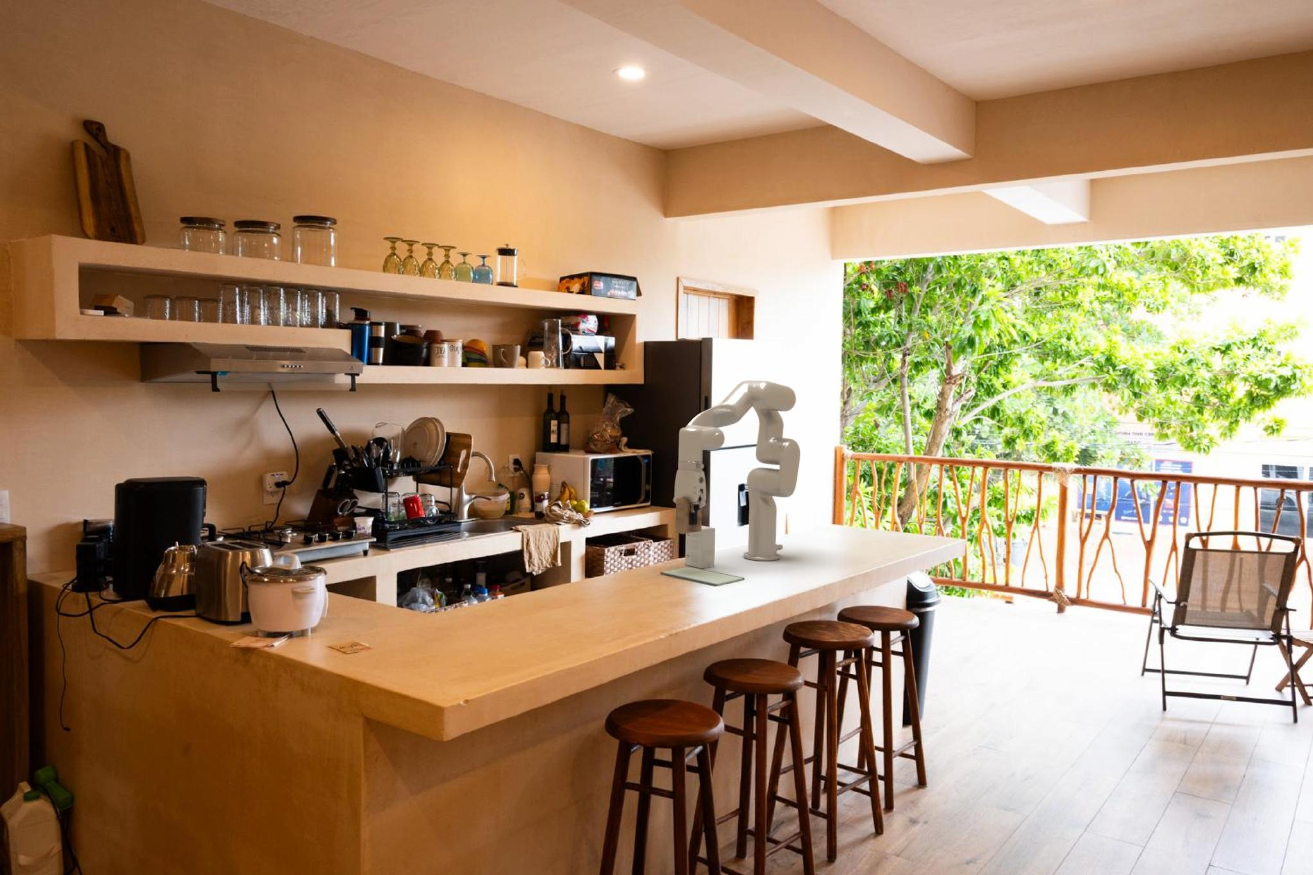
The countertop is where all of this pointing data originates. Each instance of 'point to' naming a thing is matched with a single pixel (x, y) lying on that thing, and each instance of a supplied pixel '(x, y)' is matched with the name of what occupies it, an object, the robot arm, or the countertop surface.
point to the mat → (702, 576)
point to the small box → (700, 548)
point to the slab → (686, 517)
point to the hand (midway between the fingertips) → (688, 523)
